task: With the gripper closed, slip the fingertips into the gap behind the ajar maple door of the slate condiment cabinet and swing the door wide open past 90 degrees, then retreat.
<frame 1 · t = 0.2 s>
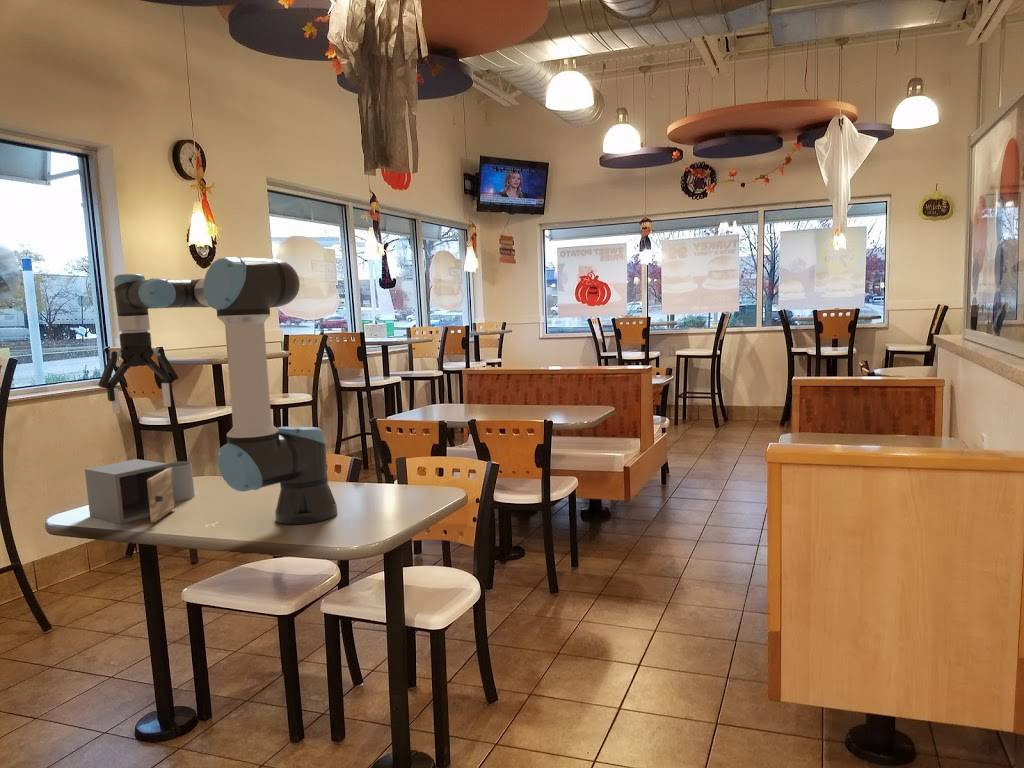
hand: (142, 409, 200), 27 cm above the table, tool pointing down, fingers open, 13 cm apart
door: (164, 493, 191), point 6 cm above the table, hinge at 40.0°
cabinet: (131, 513, 197), on the table
cup: (179, 498, 213), on the table
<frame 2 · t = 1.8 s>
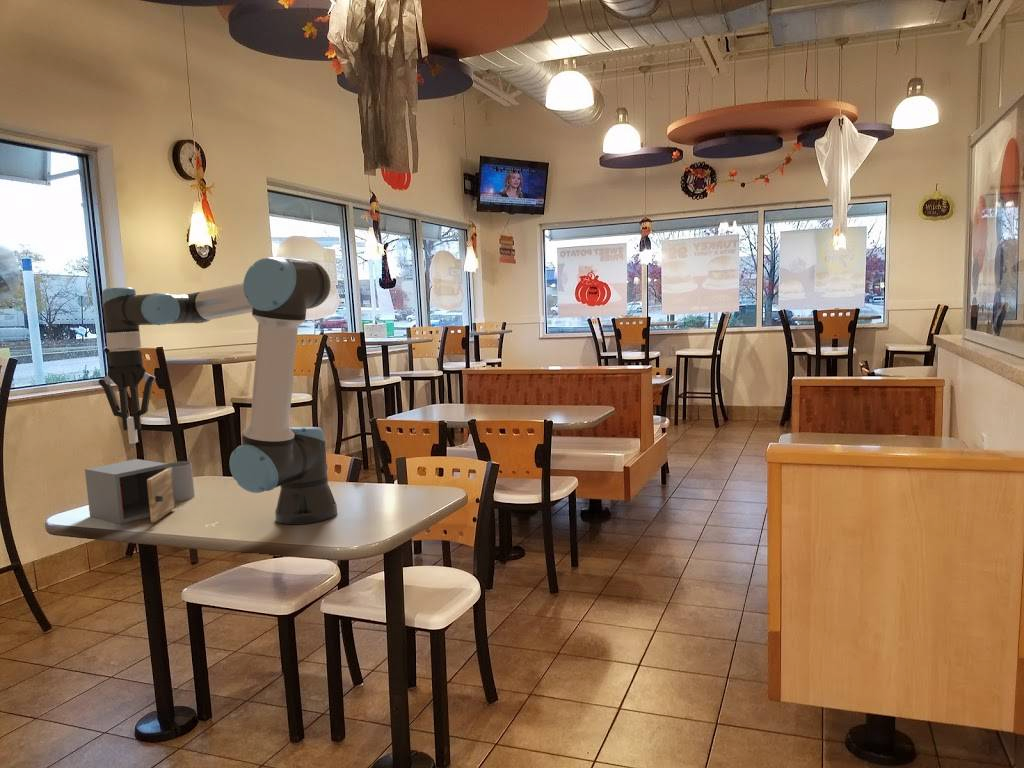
hand: (133, 442, 185), 21 cm above the table, tool pointing down, fingers closed
nothing on the table moved.
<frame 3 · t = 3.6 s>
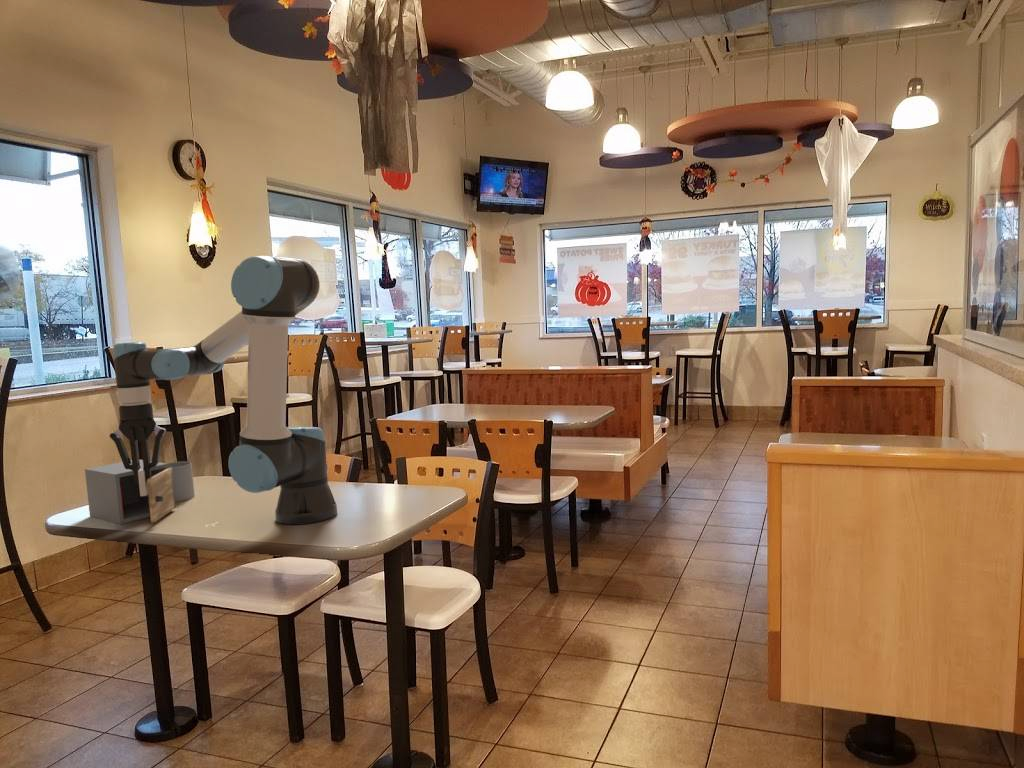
hand: (144, 494, 187), 7 cm above the table, tool pointing down, fingers closed
door: (164, 493, 191), point 6 cm above the table, hinge at 40.0°, touching gripper
everything else where it was.
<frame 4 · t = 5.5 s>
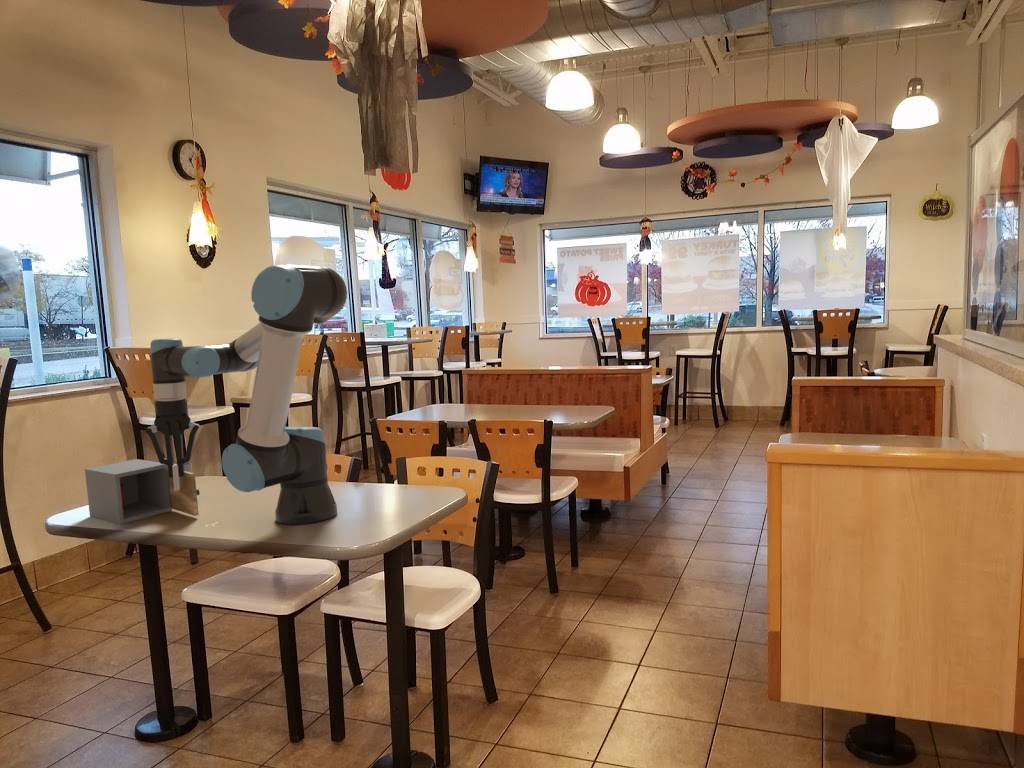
hand: (177, 489, 189), 8 cm above the table, tool pointing down, fingers closed
door: (184, 490, 194), point 6 cm above the table, hinge at 84.0°, touching gripper
everything else where it was.
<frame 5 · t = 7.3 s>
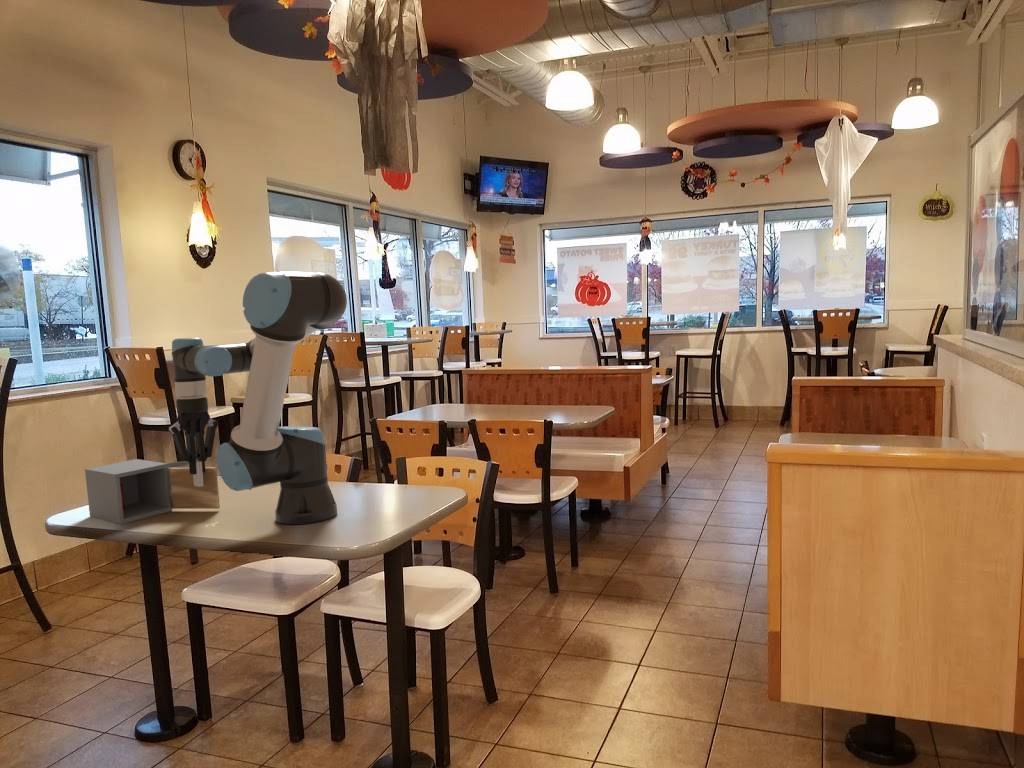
hand: (198, 485, 193), 8 cm above the table, tool pointing down, fingers closed
door: (194, 487, 197), point 6 cm above the table, hinge at 114.8°, touching gripper
everything else where it was.
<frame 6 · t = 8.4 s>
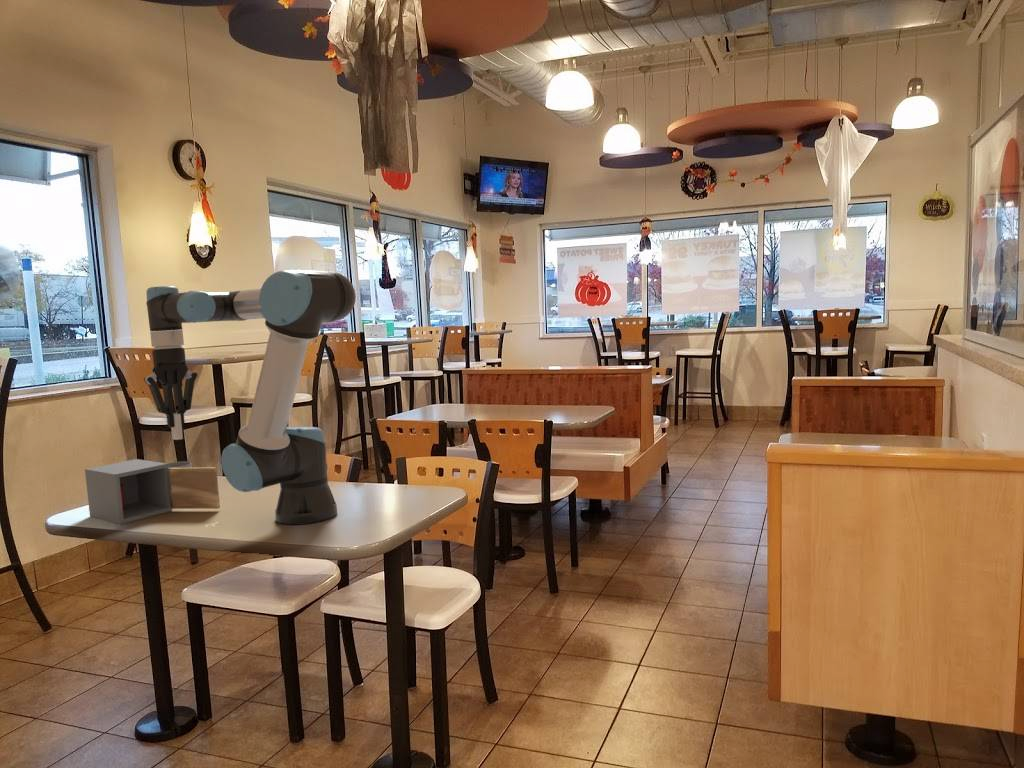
hand: (177, 439, 188), 21 cm above the table, tool pointing down, fingers closed
door: (194, 487, 197), point 6 cm above the table, hinge at 114.8°
everything else where it was.
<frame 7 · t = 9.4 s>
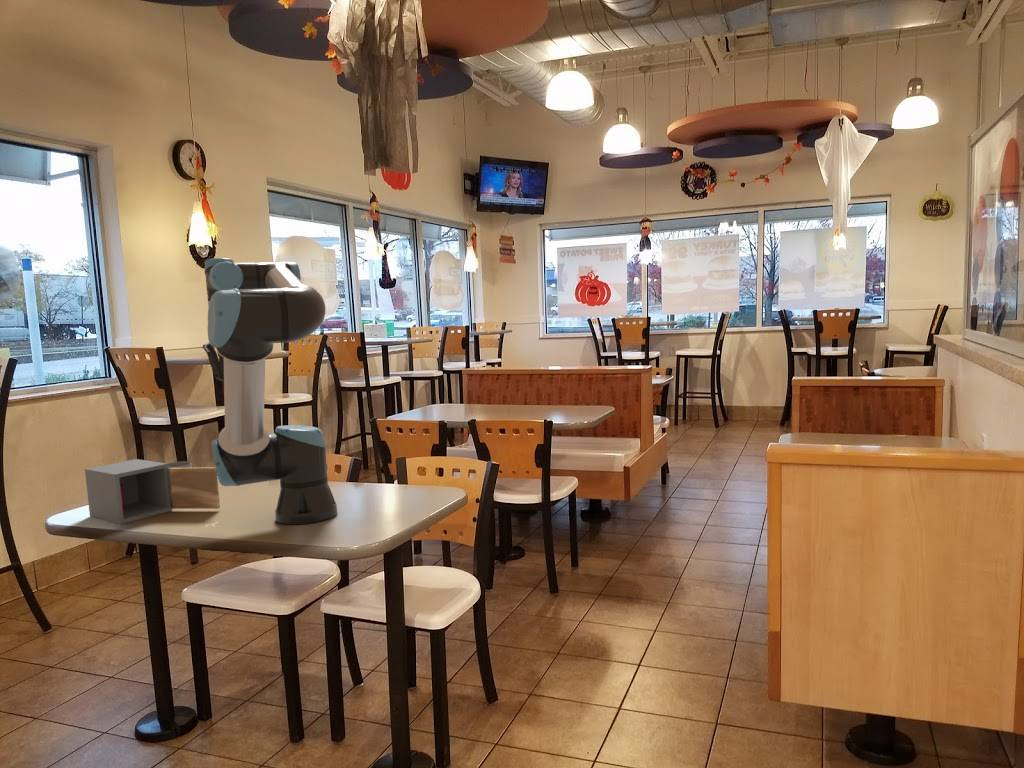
hand: (232, 404, 197), 28 cm above the table, tool pointing down, fingers closed
nothing on the table moved.
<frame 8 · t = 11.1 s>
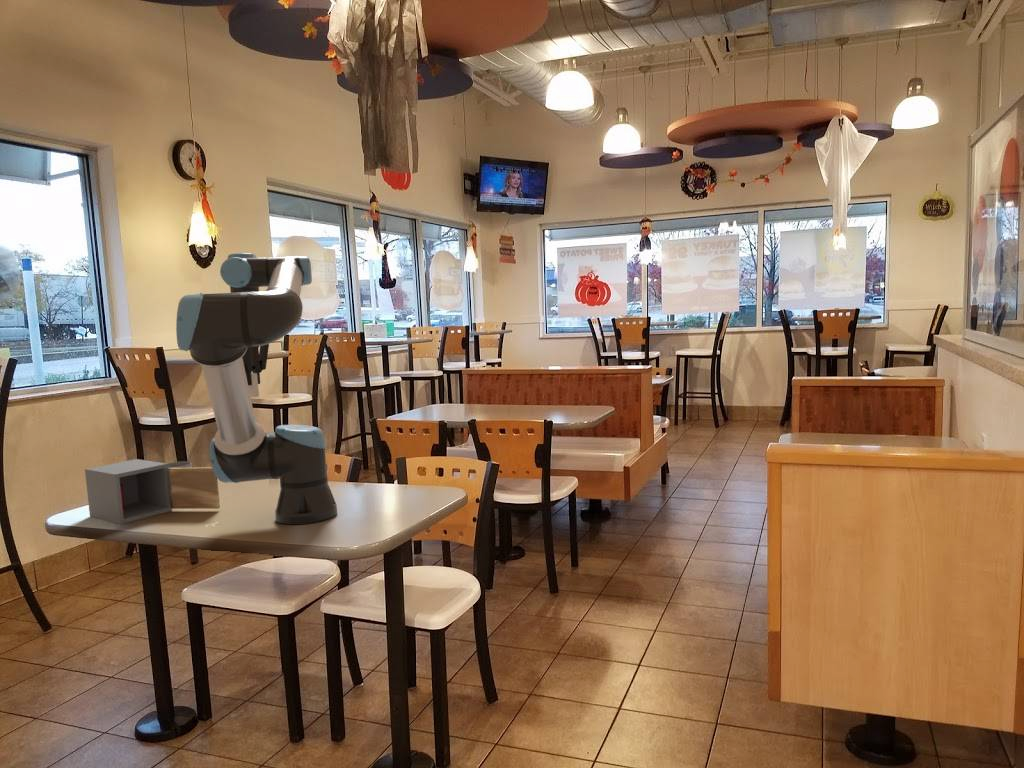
hand: (253, 396, 202), 29 cm above the table, tool pointing down, fingers closed
nothing on the table moved.
at the end: door at +115° (first picture: +40°); door touching nothing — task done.
